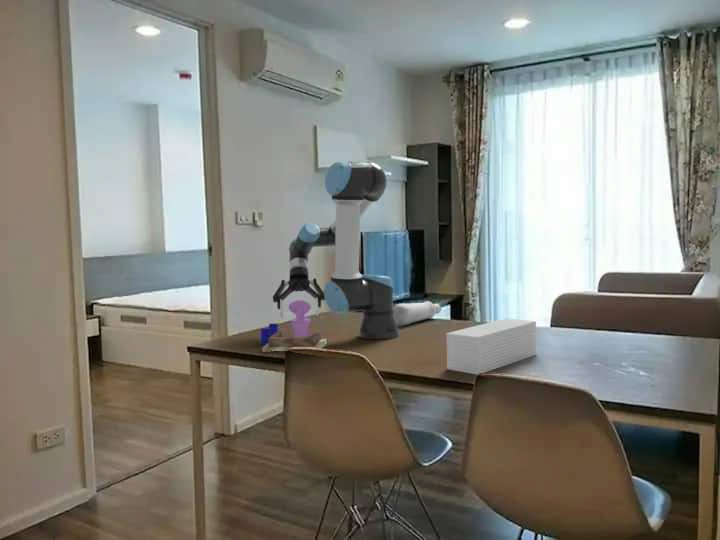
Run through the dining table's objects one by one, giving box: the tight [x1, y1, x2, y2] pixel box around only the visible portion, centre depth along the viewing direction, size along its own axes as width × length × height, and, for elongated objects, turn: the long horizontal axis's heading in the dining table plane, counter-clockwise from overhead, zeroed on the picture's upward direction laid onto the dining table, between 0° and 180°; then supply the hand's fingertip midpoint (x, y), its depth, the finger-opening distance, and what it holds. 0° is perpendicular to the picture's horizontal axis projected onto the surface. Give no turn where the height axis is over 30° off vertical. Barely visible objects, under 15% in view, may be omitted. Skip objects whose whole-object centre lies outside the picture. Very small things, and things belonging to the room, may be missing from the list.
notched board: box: [262, 330, 328, 353], centre depth 219 cm, size 20×14×4 cm
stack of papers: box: [446, 318, 537, 375], centre depth 188 cm, size 32×11×11 cm, turn 135°
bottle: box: [393, 300, 442, 327], centre depth 266 cm, size 9×9×30 cm
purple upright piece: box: [288, 299, 312, 337], centre depth 236 cm, size 8×9×15 cm
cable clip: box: [260, 322, 279, 346], centre depth 232 cm, size 12×4×6 cm, turn 172°
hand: (299, 314), depth 237 cm, fingers open, 13 cm apart
